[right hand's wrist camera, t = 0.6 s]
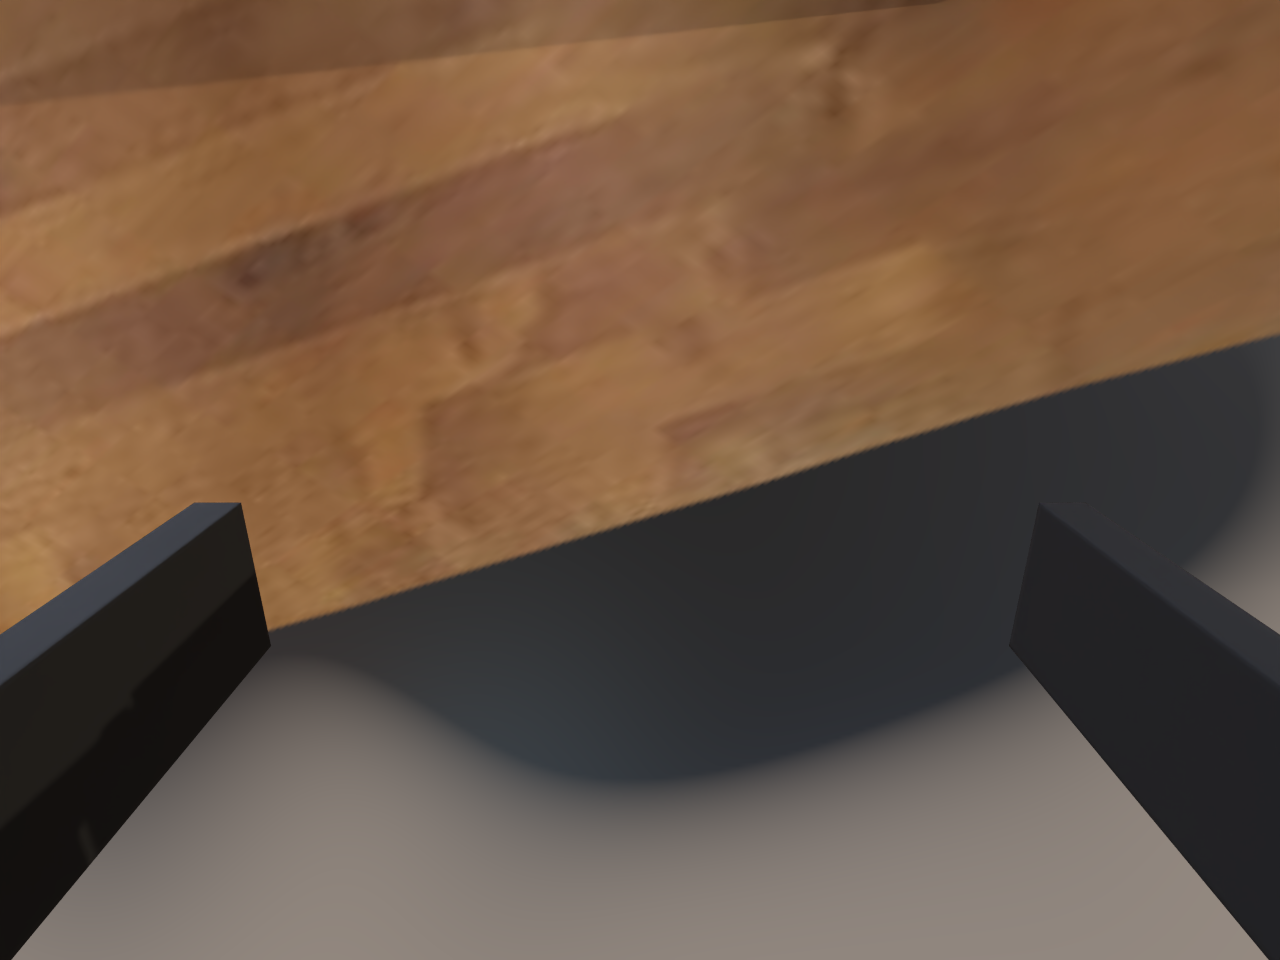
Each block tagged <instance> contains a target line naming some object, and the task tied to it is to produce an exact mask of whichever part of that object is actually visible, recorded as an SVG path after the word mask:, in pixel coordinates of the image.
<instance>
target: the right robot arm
mask: <svg viewBox="0 0 1280 960" xmlns="http://www.w3.org/2000/svg"><path fill="white" fill-rule="evenodd" d="M270 646H271V644H270V639H269V635H268V630H267V625H266V620H265V616H264V611H263V606H262V601H261V596H260V592H259V587H258V582H257V577H256V572H255V568H254V563H253V558H252V553H251V549H250V544H249V539H248V534H247V529H246V525H245V520H244V515H243V510H242V505H241V503H193V504H192V505H190V506H189V507H187V508H186V509H184V510H183V511H181V512H180V513H179V514H177V515H176V516H174V517H173V518H171V519H170V520H168V521H167V522H165V523H164V524H162V525H161V526H159V527H158V528H156V529H155V530H154V531H152V532H151V533H149V534H148V535H146V536H145V537H143V538H142V539H140V540H139V541H137V542H136V543H134V544H133V545H131V546H130V547H129V548H127V549H126V550H124V551H123V552H121V553H120V554H118V555H117V556H115V557H114V558H112V559H111V560H109V561H108V562H106V563H105V564H104V565H102V566H101V567H99V568H98V569H96V570H95V571H93V572H92V573H90V574H89V575H87V576H86V577H84V578H83V579H81V580H80V581H79V582H77V583H76V584H74V585H73V586H71V587H70V588H68V589H67V590H65V591H64V592H62V593H61V594H59V595H58V596H56V597H55V598H53V599H52V600H51V601H49V602H48V603H46V604H45V605H43V606H42V607H40V608H39V609H37V610H36V611H34V612H33V613H31V614H30V615H28V616H27V617H26V618H24V619H23V620H21V621H20V622H18V623H17V624H15V625H14V626H12V627H11V628H9V629H8V630H6V631H5V632H3V633H2V634H1V635H0V960H11V959H12V958H13V957H14V956H15V955H16V953H17V952H18V951H19V950H20V949H21V947H22V946H23V945H24V944H25V943H26V941H27V940H28V939H29V938H30V936H31V935H32V934H33V933H34V932H35V930H36V929H37V928H38V927H39V926H40V924H41V923H42V922H43V921H44V920H45V918H46V917H47V916H48V915H49V914H50V912H51V911H52V910H53V909H54V907H55V906H56V905H57V904H58V903H59V901H60V900H61V899H62V898H63V896H64V895H65V894H66V893H67V892H68V891H69V889H70V888H71V887H72V886H73V885H74V883H75V882H76V881H77V880H78V878H79V877H80V876H81V875H82V874H83V872H84V871H85V870H86V869H87V868H88V866H89V865H90V864H91V863H92V861H93V860H94V859H95V858H96V857H97V856H98V854H99V853H100V852H101V851H102V849H103V848H104V847H105V846H106V845H107V843H108V842H109V841H110V840H111V839H112V837H113V836H114V835H115V834H116V833H117V831H118V830H119V829H120V828H121V826H122V825H123V824H124V823H125V822H126V820H127V819H128V818H129V817H130V816H131V814H132V813H133V812H134V811H135V810H136V808H137V807H138V806H139V805H140V803H141V802H142V801H143V800H144V799H145V797H146V796H147V795H148V794H149V793H150V791H151V790H152V789H153V788H154V787H155V785H156V784H157V783H158V782H159V781H160V779H161V778H162V777H163V776H164V774H165V773H166V772H167V771H168V770H169V768H170V767H171V766H172V765H173V764H174V762H175V761H176V760H177V759H178V758H179V756H180V755H181V754H182V753H183V752H184V750H185V749H186V748H187V747H188V746H189V744H190V743H191V742H192V741H193V739H194V738H195V737H196V736H197V735H198V733H199V732H200V731H201V730H202V729H203V727H204V726H205V725H206V724H207V722H208V721H209V720H210V719H211V718H212V716H213V715H214V714H215V713H216V712H217V710H218V709H219V708H220V707H221V706H222V704H223V703H224V702H225V701H226V700H227V698H228V697H229V696H230V695H231V694H232V692H233V691H234V690H235V689H236V687H237V686H238V685H239V684H240V683H241V681H242V680H243V679H244V678H245V677H246V675H247V674H248V673H249V672H250V670H251V669H252V668H253V667H254V666H255V664H256V663H257V662H258V661H259V660H260V658H261V657H262V656H263V655H264V654H265V652H266V651H267V650H268V649H269V648H270ZM1009 646H1010V648H1011V649H1012V650H1013V651H1014V652H1015V654H1016V655H1017V656H1018V657H1019V658H1020V660H1021V661H1022V662H1023V663H1024V665H1025V666H1026V667H1027V668H1028V669H1029V670H1030V672H1031V673H1032V674H1033V675H1034V677H1035V678H1036V679H1037V680H1038V681H1039V683H1040V684H1041V685H1042V686H1043V687H1044V689H1045V690H1046V691H1047V692H1048V694H1049V695H1050V696H1051V697H1052V698H1053V700H1054V701H1055V702H1056V703H1057V704H1058V706H1059V707H1060V708H1061V709H1062V710H1063V712H1064V713H1065V714H1066V715H1067V716H1068V718H1069V719H1070V720H1071V721H1072V723H1073V724H1074V725H1075V726H1076V727H1077V729H1078V730H1079V731H1080V732H1081V733H1082V735H1083V736H1084V737H1085V738H1086V739H1087V741H1088V742H1089V743H1090V744H1091V746H1092V747H1093V748H1094V749H1095V750H1096V751H1097V753H1098V754H1099V755H1100V756H1101V758H1102V759H1103V760H1104V761H1105V762H1106V764H1107V765H1108V766H1109V767H1110V768H1111V770H1112V771H1113V772H1114V773H1115V775H1116V776H1117V777H1118V778H1119V779H1120V781H1121V782H1122V783H1123V784H1124V785H1125V787H1126V788H1127V789H1128V790H1129V791H1130V793H1131V794H1132V795H1133V796H1134V797H1135V799H1136V800H1137V801H1138V802H1139V803H1140V805H1141V806H1142V807H1143V808H1144V810H1145V811H1146V812H1147V813H1148V814H1149V816H1150V817H1151V818H1152V819H1153V820H1154V822H1155V823H1156V824H1157V825H1158V826H1159V828H1160V829H1161V830H1162V831H1163V833H1164V834H1165V835H1166V836H1167V837H1168V839H1169V840H1170V841H1171V842H1172V843H1173V845H1174V846H1175V847H1176V848H1177V849H1178V851H1179V852H1180V853H1181V854H1182V856H1183V857H1184V858H1185V859H1186V860H1187V861H1188V863H1189V864H1190V865H1191V866H1192V868H1193V869H1194V870H1195V871H1196V872H1197V874H1198V875H1199V876H1200V877H1201V878H1202V880H1203V881H1204V882H1205V883H1206V885H1207V886H1208V887H1209V888H1210V889H1211V891H1212V892H1213V893H1214V894H1215V895H1216V897H1217V898H1218V899H1219V900H1220V901H1221V903H1222V904H1223V905H1224V906H1225V907H1226V909H1227V910H1228V911H1229V912H1230V914H1231V915H1232V916H1233V917H1234V918H1235V920H1236V921H1237V922H1238V923H1239V924H1240V926H1241V927H1242V928H1243V929H1244V930H1245V932H1246V933H1247V934H1248V935H1249V936H1250V938H1251V939H1252V940H1253V941H1254V942H1255V944H1256V945H1257V946H1258V947H1259V949H1260V950H1261V951H1262V952H1263V953H1264V955H1265V956H1266V957H1267V958H1268V959H1269V960H1280V635H1279V634H1278V633H1277V632H1275V631H1274V630H1272V629H1271V628H1269V627H1268V626H1266V625H1265V624H1263V623H1262V622H1260V621H1259V620H1257V619H1256V618H1254V617H1253V616H1251V615H1250V614H1249V613H1247V612H1246V611H1244V610H1243V609H1241V608H1240V607H1238V606H1237V605H1235V604H1234V603H1232V602H1231V601H1229V600H1228V599H1226V598H1225V597H1224V596H1222V595H1221V594H1219V593H1218V592H1216V591H1215V590H1213V589H1212V588H1210V587H1209V586H1207V585H1206V584H1204V583H1203V582H1201V581H1200V580H1199V579H1197V578H1196V577H1194V576H1193V575H1191V574H1190V573H1188V572H1187V571H1185V570H1184V569H1182V568H1181V567H1179V566H1178V565H1176V564H1175V563H1173V562H1172V561H1171V560H1169V559H1168V558H1166V557H1165V556H1163V555H1162V554H1160V553H1159V552H1157V551H1156V550H1154V549H1153V548H1151V547H1150V546H1149V545H1147V544H1146V543H1144V542H1143V541H1141V540H1140V539H1138V538H1137V537H1135V536H1134V535H1132V534H1131V533H1129V532H1128V531H1126V530H1125V529H1123V528H1122V527H1121V526H1119V525H1118V524H1116V523H1115V522H1113V521H1112V520H1110V519H1109V518H1107V517H1106V516H1104V515H1103V514H1101V513H1100V512H1098V511H1097V510H1096V509H1094V508H1093V507H1091V506H1090V505H1088V504H1087V503H1039V505H1038V510H1037V515H1036V520H1035V525H1034V530H1033V534H1032V539H1031V544H1030V549H1029V553H1028V558H1027V563H1026V568H1025V572H1024V577H1023V582H1022V587H1021V592H1020V596H1019V601H1018V606H1017V611H1016V616H1015V620H1014V625H1013V630H1012V635H1011V639H1010V644H1009Z"/></svg>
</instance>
